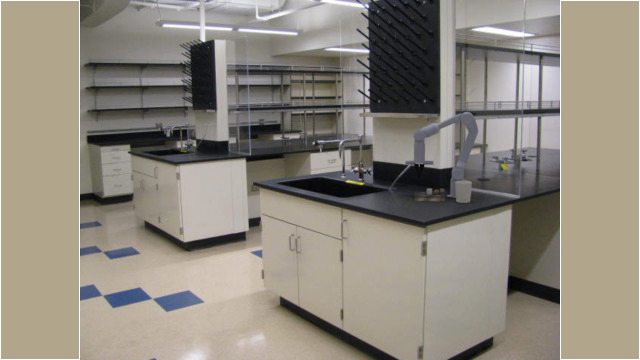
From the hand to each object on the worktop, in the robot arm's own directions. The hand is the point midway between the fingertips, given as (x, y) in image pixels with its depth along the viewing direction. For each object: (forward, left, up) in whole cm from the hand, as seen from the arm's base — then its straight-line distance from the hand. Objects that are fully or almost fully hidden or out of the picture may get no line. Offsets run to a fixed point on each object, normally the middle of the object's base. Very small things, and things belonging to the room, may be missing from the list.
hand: (419, 178), depth 270 cm
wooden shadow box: (+3, +11, -9) cm, 15 cm away
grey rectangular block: (+2, +11, -8) cm, 14 cm away
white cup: (-7, +25, -10) cm, 28 cm away
